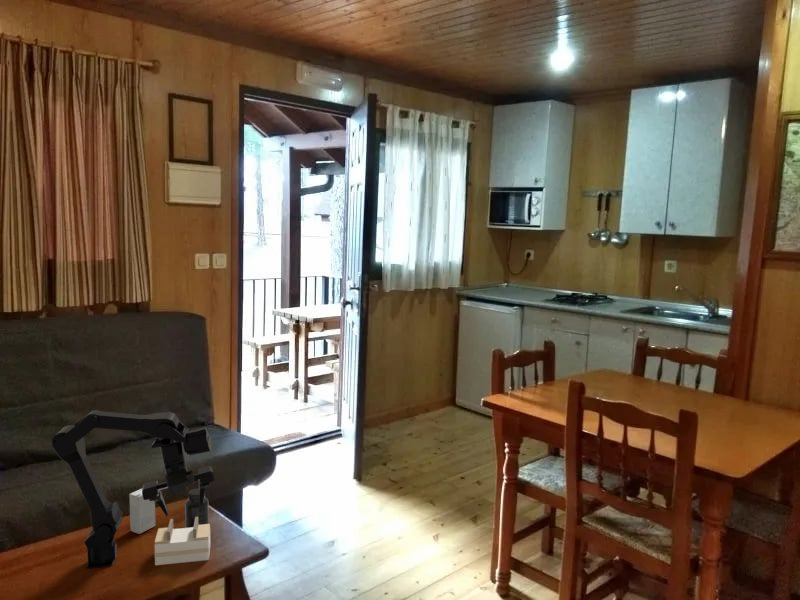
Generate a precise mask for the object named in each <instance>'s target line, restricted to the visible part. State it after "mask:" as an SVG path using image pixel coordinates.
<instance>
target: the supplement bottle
mask: <svg viewBox="0 0 800 600" xmlns="http://www.w3.org/2000/svg"><path fill="white" fill-rule="evenodd" d="M187 494H188V497H187V500H186V502H185V503H184V510H185V511H184V513H185V515H184V516H185V518H184V519H185V523H184V524H185V525H184V526H185V528H191V527H194V522H195V517H198V525H202V524H210V523H209V522H210V520H209V519H210V518H209V517H210V515H209V513H210V510H209V499H208V498H207V497H206V491H205V492H204V498H203V506H202V507H201V504H200V496H199V487H198V488H193V489H190V490H188V493H187Z"/></svg>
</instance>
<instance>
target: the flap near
mask: <svg viewBox="0 0 800 600" xmlns="http://www.w3.org/2000/svg"><path fill="white" fill-rule="evenodd" d="M173 529H175V528H174V518H170V519H169V523H168V527H158V529H157V532H156V536H155V539H154V544H155V543H166V542H170V541H171V537H172V533H173Z"/></svg>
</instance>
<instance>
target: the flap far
mask: <svg viewBox="0 0 800 600" xmlns="http://www.w3.org/2000/svg"><path fill="white" fill-rule="evenodd" d="M209 530H210V531H211V523H209V524H202V525H198V517H195V522H194V527H193V540H197V539H208V538H209Z"/></svg>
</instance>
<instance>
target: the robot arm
mask: <svg viewBox="0 0 800 600" xmlns="http://www.w3.org/2000/svg"><path fill="white" fill-rule="evenodd" d="M94 429H105V430H117V431H127V432H128V431H129V432H140V433H143V434H146V435H148V436H150V437H154V438H155V440H154V441H153V442H152V444H151V448H152V449H155V448H156V449H157V448H159V450H160V454H161V460H162V464H163V469H164V474H165V481H164V482H160V483H159V481H158V479H156V480H151V481H148V482H145V483H143V485H142V486H141V489H142V495H143V499H144V500H148V499H149V501H155V504H157V505H158V506H159V507H160V509H161V510H162V512H163V513H164V515H165V516H166V517H169V512H168V507H167V505H166V502H165V501H166V500H165V499H164V495H163V493H162V491H164V490H168V491H169V492H168V493H169V495H170V496H175V495H177V494H181V493H186V492H189V486H192V484H193V485H194V484H195V483H196V482H197V481H198V488H199V496H200V504H201V507H202V506H203V498H204V492H205V493H206V488H207V487H208V486H210V485H211V483H213V482H214V481H215V475H214V470H213V467H212V466H211V465H208V466H204V467H200V468H198V469H197V473H193V472H194V471H193V470H192V469H191V470H188V466H187V462H186V458H185V453H186V455H189V456H195V455H200V454H203V453H204V454H205V453H208V452H209V453H210V452H211V451H212V447H213V446H212V439H211V435H210V433H209V431H208V429H207V427H206V426H205V427H200V428H198V429H197V428H196V429H193V430H189V428H188V427H187V426H186V425H184V424H183V423H182V422H181V421H180V420H179V417H178V416H177V414H176V413H174V412H172V411H167V412H155V413H151V414H137V413H136V414H135V413H126V412H125V413H123V412H114V411H111V412H110V411H103V410H102V411H101V410H98V409H95V410H91V411H90V412H89V413H88V414H86V416H84V417H83V418H81V419H80V420H78V421H77V422H76V423H74V424H70V425H65V426H64V427H62V428H61V429H60V430H59V431H58V432H57V433H56V434H55V435H54V436H53V438H52V440H51V447H52V449H53V450H54V452H55V453H56V455H57V456H58V458H60V459H61V460H62V461H63V462H65V463H66V464H67V465H68V466H69V468H70V470H71V472H72V474H73V476H74V479H75V481H76V483H77V485H78V487H79V489H80V491H81V493H82V496H83V497H84V500H85V501H86V504H87V506H88V508H89V512H90V521H91V522H90V523H91V524H90V525H91V527H92V529H91V530H90V532H89V534H88V535H87V536H86V539H85V540H84V545H85V546H86V550H87V552H86V553H87V563H86V567H85V568H86V569H93V568H102V567H112V566H113V564H114V562H115V561H116V559H117V556H118V544H117V543H118V542H117V541H115V535H116V533H117V531H118V529H119V528H120V526H121V523H122V522H123V521H122V520H123V517H122V516H123V515H124V511H122V510H121V509H120V507H119V502H118V501H115V502H113V503H112V502H111V501H109V500H108V498H107V497H106V495H105V492H104V490H103V488H102V486H101V484H100V482H99V480H98V477H97V475H96V473H95V471H94V469H93V467H92V464H91V462H90V461H89V459H88V456H87V454H86V440H85V438H84V437H85V436H86V435H88V434H89V433H90V432H91V431H92V430H94Z"/></svg>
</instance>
